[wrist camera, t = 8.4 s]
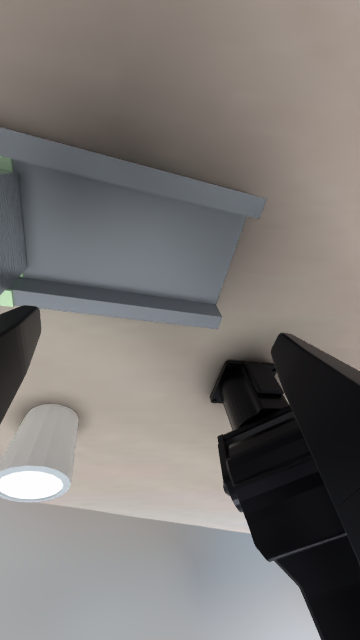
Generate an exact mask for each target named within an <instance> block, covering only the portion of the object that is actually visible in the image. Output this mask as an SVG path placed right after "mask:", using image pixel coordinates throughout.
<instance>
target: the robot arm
mask: <svg viewBox="0 0 360 640" xmlns="http://www.w3.org/2000/svg"><path fill="white" fill-rule="evenodd" d="M40 333H41V320H40V310H39V308H38V307H37V306H29V305H23V306H20V307H18V308H15V309H13V310H10V311H7V312H5V313H2V314H0V424H1V422H2V420H3V418H4V416H5V414H6V412H7V410H8V408H9V406H10V404H11V402H12V400H13V399H14V397H15V395H16V393H17V391H18V389H19V387H20V385H21V383H22V381H23V379H24V377H25V375H26V373H27V370H28V368H29V365H30V362H31V359H32V356H33V354H34V351H35V348H36V345H37V342H38V339H39V337H40ZM271 355H272V358H273V361H274V364H264V363H253V362H241V361H227V362H225V364H224V366H223V369H222V371H221V373H220V376H219V378H218V380H217V383H216V385H215V387H214V390H213V392H212V394H211V397H210V400H211V402H212V403H223V404H224V407H225V410H226V413H227V416H228V419H229V421H230V424H231V427H232V430H233V431H231V432H229V433H227V434H224V435H223V434H222V435H220V436H218V443H219V444H218V449H219V456H220V463H221V469H222V476H223V488H224V491H225V493H226V494H228V495H229V496H231V498H232V501H233V502H234V504H235V506H236V507H237V509H238V510H239V511H240V512H243V513H244V515H245V518H246V520H247V523H248V526H249V529H250V532H251V535H252V538H253V541H254V544H255V546H256V547H257V549H258V550H259V551H260V552H261V554H262V555H263V556H264V557H265V559H266V560H267V561H269V562H271V561H275V562H276V563H277V564H278V565H279V566H280V567H281V568H282V569H283V570H284V572H285V573H286V574H288V576H289V577H290V578H291V579H292V580H293V581H294V582H295V583H296V584H297V585H298V586H299V588H300V590H301V592H302V595H303V597H304V599H305V602H306V604H307V606H308V609H309V611H310V613H311V616H312V618H313V621H314V623H315V626H316V628H317V630H318V633H319V635H320V638H321V640H360V371H358V370H356V369H355V368H353V367H351V366H349V365H347V364H345V363H343V362H342V361H340V360H338V359H336V358H334V357H332V356H331V355H329V354H327V353H325V352H323V351H321V350H320V349H318V348H316V347H314V346H312V345H310V344H308V343H307V342H305V341H303V340H301V339H299V338H297V337H296V336H294V335H292V334H288V333H280V334H279V335H278V337H277V339H276V341H275V343H274V345H273V347H272V349H271ZM228 365H229V366H228ZM276 373H277V374H278V377H279V380H280V383H281V385H282V388H283V390H284V391H283V390H282V388H281V387H280V385H279V383H278V382H277V380H276V379H275V377H274V376H275V374H276ZM284 393H285V395H286V397H287V399H288V402H289V404H290V405H289V404H288V402H287V401H286V399H285V397H284V396H283V394H284Z"/></svg>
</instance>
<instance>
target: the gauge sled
mask: <svg viewBox="0 0 360 640" xmlns="http://www.w3.org/2000/svg"><path fill="white" fill-rule="evenodd" d="M25 270H27V265H26V254H25V243H24V233H23V222H22V211H21V201H20V190H19V180H18V173H17V172H13V171H9V170H4V169H0V295H1V294H2V293H3V292H4V291H5V290H6V289H7V288H8V287H9V286H10V285H11V284H12V283H13V282H14V281H15V280H16V279H17V278H18V277H19V276H20V275H21V274H22V273H23V272H24V271H25Z"/></svg>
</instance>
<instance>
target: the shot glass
mask: <svg viewBox="0 0 360 640" xmlns="http://www.w3.org/2000/svg"><path fill="white" fill-rule="evenodd" d="M78 422H79V419H78V416H77V414H76V413H75V412H74V411H73V410H72V409H70V408H68V407H65V406H63V405H57V404H44V405H39V406H36V407H34V408H32V409H31V410H30V411H29V412H28V413H27V414H26V416H25V418H24V419H23V421H22V423H21V425H20V426H19V428H18V430H17V432H16V433H15V435H14V437H13V439H12V440H11V442H10V444H9V446H8V447H7V449H6V451H5V453H4V454H3V456H2V458H1V460H0V497H2V498H4V499H7V500H12V501H17V502H40V501H47V500H51V499H54V498H56V497H59V496H61V495H63V494H64V493H65V492H67V491H68V490H69V487H70V485H71V479H72V471H73V463H74V455H75V447H76V438H77V430H78Z"/></svg>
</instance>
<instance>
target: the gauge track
mask: <svg viewBox="0 0 360 640" xmlns="http://www.w3.org/2000/svg"><path fill="white" fill-rule="evenodd" d="M0 169H4V170H9V171H13V172H17V173H18V180H19V190H20V201H21V211H22V222H23V233H24V243H25V254H26V265H27V270H25V271H24V272H23V273H22V274H21V275H20V276H19V277H18V278H17V279H16V280H15V281H14V282H13V283H12V284H11V285H10V286H9V287H8V288H7V289H6V290H5V291H4V292H3V293H2V294H1V295H0V305H1V306H10V307H14V306H23V305H29V306H37V307H38V308H41V309H49V310H58V311H66V312H75V313H83V314H92V315H100V316H109V317H117V318H126V319H134V320H143V321H151V322H160V323H169V324H177V325H186V326H194V327H203V328H211V329H218V327H219V324H220V322H221V319H222V316H221V314H220V312H219V310H218V308H217V306H216V303H217V300H218V297H219V294H220V291H221V289H222V286H223V283H224V280H225V277H226V274H227V271H228V268H229V266H230V263H231V260H232V257H233V254H234V251H235V248H236V246H237V243H238V240H239V237H240V234H241V231H242V228H243V225H244V223H245V220H246V217H247V216H249V217H253V218H257V219H259V218H260V215H261V212H262V210H263V207H264V204H265V202H266V199H265V198H261V197H258V196H255V195H252V194H248V193H245V192H241V191H237V190H233V189H230V188H226V187H222V186H219V185H215V184H211V183H207V182H204V181H200V180H196V179H193V178H189V177H185V176H181V175H178V174H174V173H170V172H167V171H163V170H159V169H155V168H152V167H148V166H144V165H141V164H137V163H133V162H129V161H126V160H122V159H118V158H115V157H111V156H107V155H103V154H100V153H96V152H92V151H89V150H85V149H81V148H77V147H74V146H70V145H66V144H63V143H59V142H55V141H51V140H48V139H44V138H40V137H37V136H33V135H29V134H25V133H22V132H18V131H14V130H10V129H7V128H3V127H0Z"/></svg>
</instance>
